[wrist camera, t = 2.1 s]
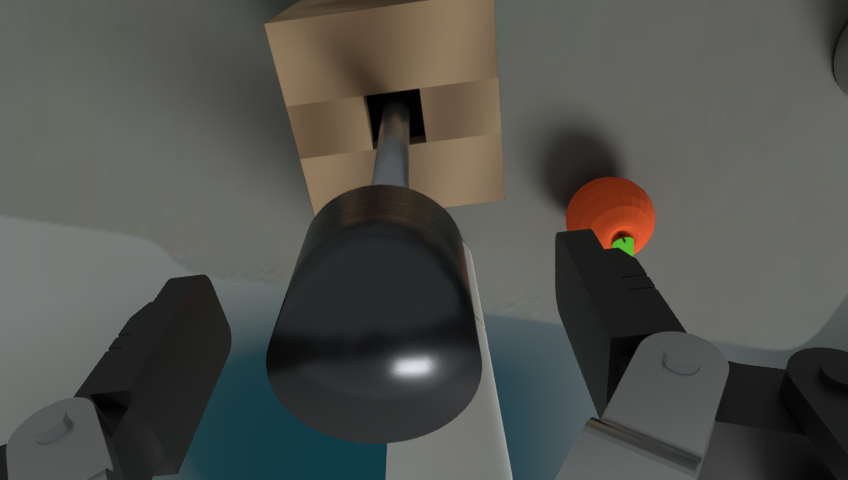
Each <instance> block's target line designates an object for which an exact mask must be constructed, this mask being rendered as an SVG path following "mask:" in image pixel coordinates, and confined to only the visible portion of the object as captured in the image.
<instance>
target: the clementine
mask: <svg viewBox="0 0 848 480" xmlns="http://www.w3.org/2000/svg"><path fill="white" fill-rule="evenodd" d="M654 224H655V211H654V207H653V204H652V202H651V200H650V198H649V197H648V195H647V194H646V192H645V191H644V190H643V189H642V188H640V187H639V186H638V185H636V184H635V183H633V182H632V181H630V180H627V179H624V178H619V177H603V178H597V179H595V180H592V181H590V182H588V183H586V184H585V185H584V186H582V187H581V188H580V189H579V190H578V191H577V192H576V193H575V194H574V195H573V197H572V199H571V201H570V203H569V205H568V209H567V213H566V227H567V231H573V230H581V229H592V230H593V231H594V233H595V235H596V236H597V238H598V240H599V241H600V243H601V245H602V246H603V248H604V249H609V248H617V247H618V248H620V249H622V250H623V251H625V252H626V253H628V254H629V255H631V256H633V254H635V253H637V252H638V251H639V250H640V249H641V248H642V247H643V246H644V245H645V244H646V243H647V242H648V240H649V239H650V237H651V235H652V233H653V230H654Z"/></svg>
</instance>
